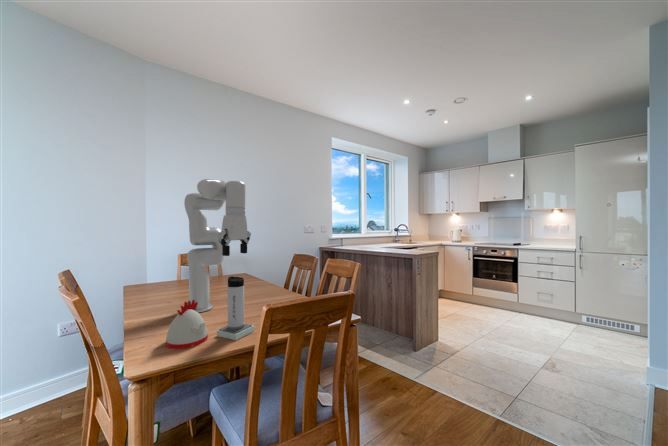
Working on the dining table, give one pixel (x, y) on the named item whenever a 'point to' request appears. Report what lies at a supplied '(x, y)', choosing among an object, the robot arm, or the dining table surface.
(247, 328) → the stand
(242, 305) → the travel mug
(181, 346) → the kitchen timer
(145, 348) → the dining table surface
